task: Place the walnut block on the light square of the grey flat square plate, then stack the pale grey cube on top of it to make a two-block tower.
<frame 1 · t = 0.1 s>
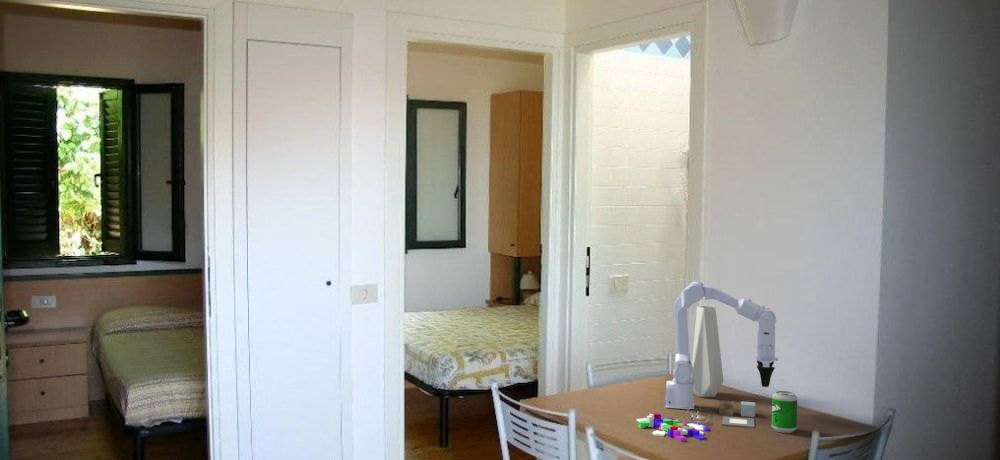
hand: (765, 384, 290), 10 cm above the table, fingers open, 7 cm apart
walnut block: (726, 414, 290), on the table
grey flat square plate: (738, 422, 279), on the table
pale grey cube: (747, 415, 289), on the table
soda can: (783, 431, 270), on the table
vase: (705, 395, 316), on the table
building block set: (675, 431, 271), on the table
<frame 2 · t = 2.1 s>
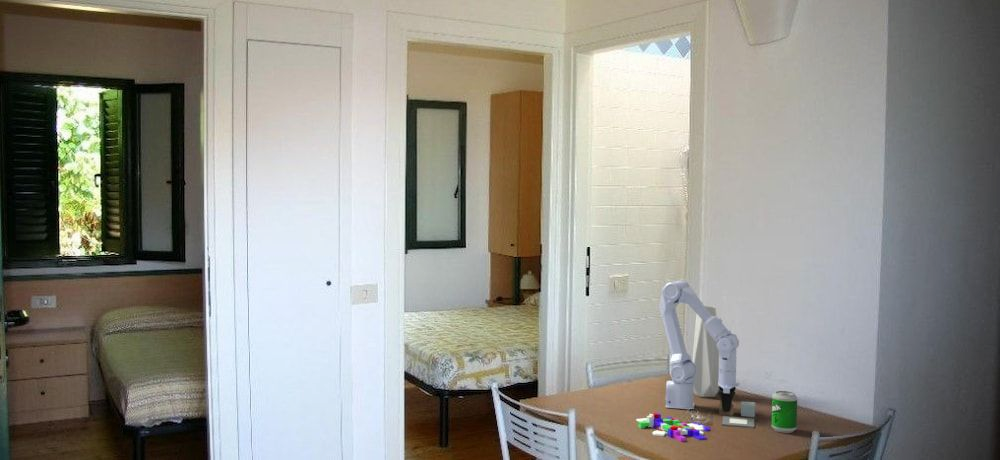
hand: (726, 409, 290), 1 cm above the table, fingers closed on walnut block, 4 cm apart
walnut block: (726, 413, 290), on the table, touching gripper
everything else where it was.
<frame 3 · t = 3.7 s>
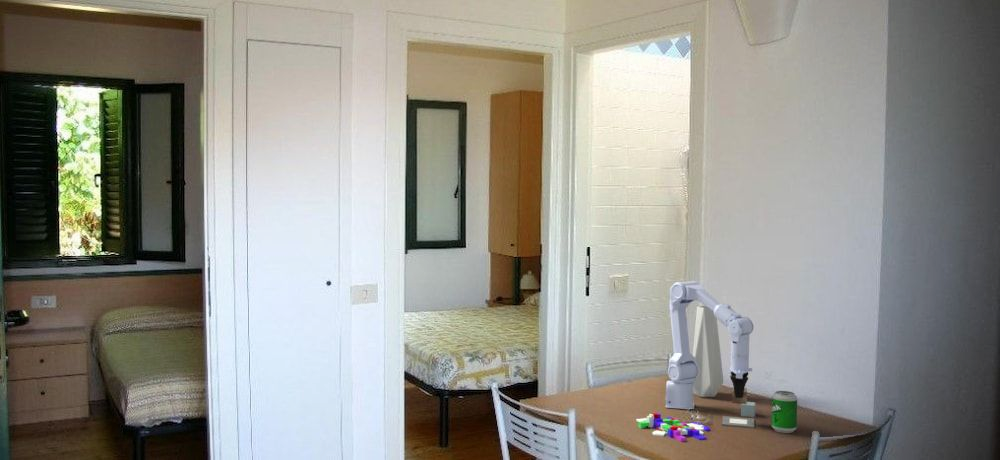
hand: (738, 395, 278), 9 cm above the table, fingers closed on walnut block, 4 cm apart
walnut block: (739, 401, 279), point 7 cm above the table, touching gripper
everything else where it was.
when the fingers open (3 cm above the table, at t = 5.2 s): walnut block stays where it is, resting on grey flat square plate.
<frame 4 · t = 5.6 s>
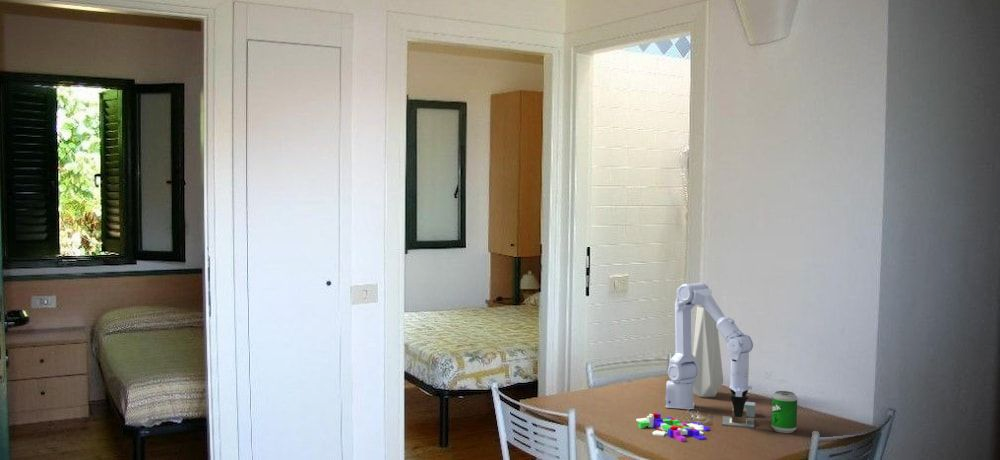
hand: (738, 413, 279), 3 cm above the table, fingers open, 7 cm apart
walnut block: (738, 421, 279), resting on grey flat square plate
everything else where it was.
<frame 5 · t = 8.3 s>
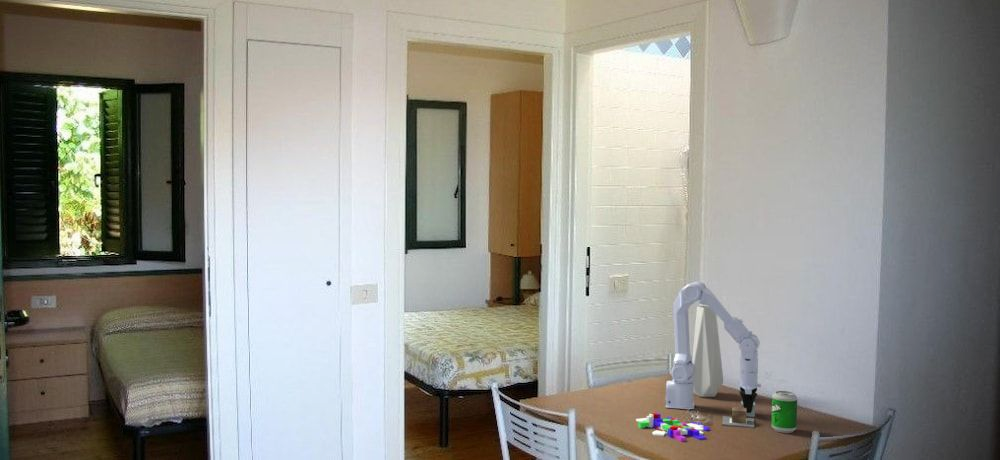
hand: (747, 410, 289), 1 cm above the table, fingers closed on pale grey cube, 4 cm apart
pale grey cube: (747, 414, 289), on the table, touching gripper
everything else where it was.
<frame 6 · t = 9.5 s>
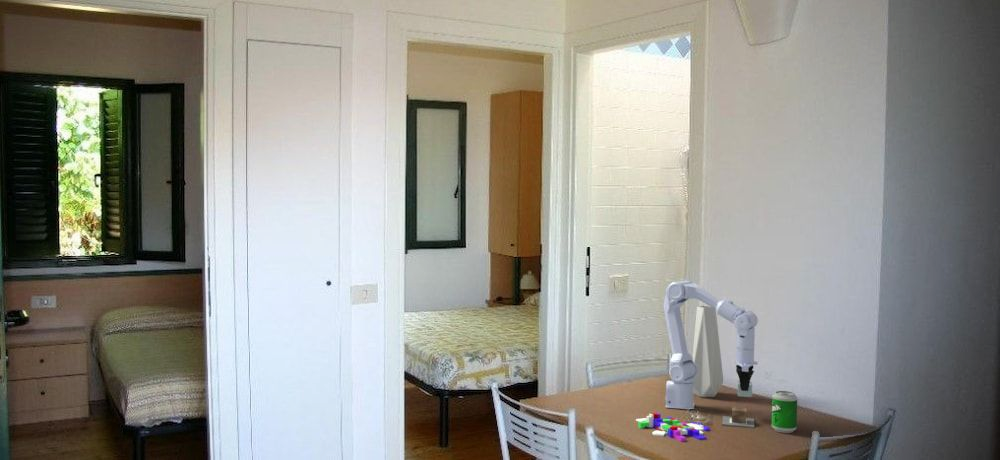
hand: (744, 388, 284), 10 cm above the table, fingers closed on pale grey cube, 4 cm apart
pale grey cube: (744, 395, 284), point 8 cm above the table, touching gripper
everything else where it was.
when the fingers open (7 cm above the table, at t = 11.0 s): pale grey cube stays where it is, resting on walnut block.
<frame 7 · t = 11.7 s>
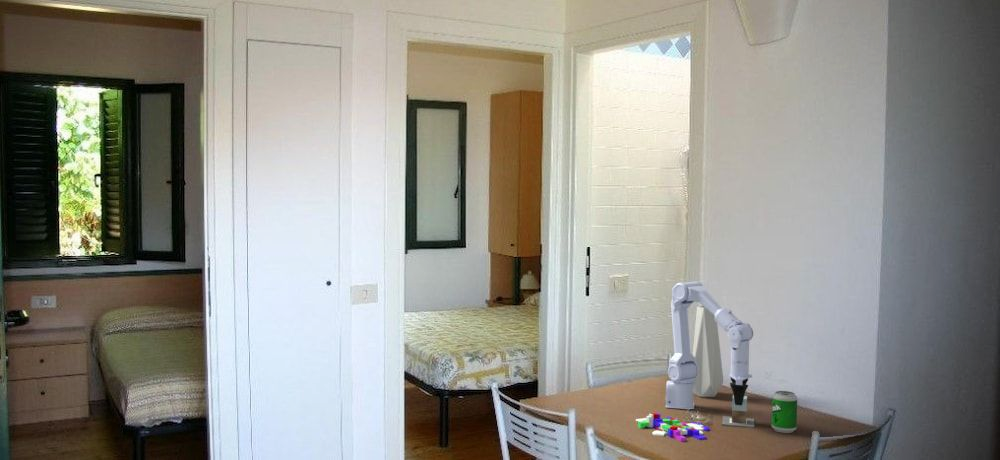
hand: (738, 402, 279), 7 cm above the table, fingers open, 7 cm apart
walnut block: (738, 421, 279), resting on grey flat square plate, touching pale grey cube
pale grey cube: (739, 409, 279), point 4 cm above the table, touching walnut block
everything else where it was.
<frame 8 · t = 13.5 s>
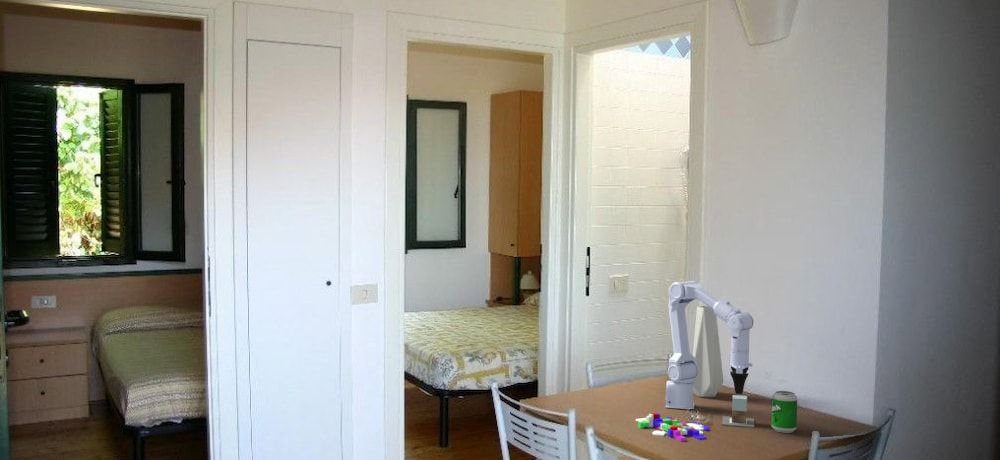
hand: (739, 391, 278), 10 cm above the table, fingers open, 7 cm apart
nothing on the table moved.
at the end: walnut block inside the target area (0.2 cm from its centre), resting on grey flat square plate; pale grey cube 0.1 cm off-centre on the walnut block, point 4.0 cm above the walnut block's base; pale grey cube tilted 0° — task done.
